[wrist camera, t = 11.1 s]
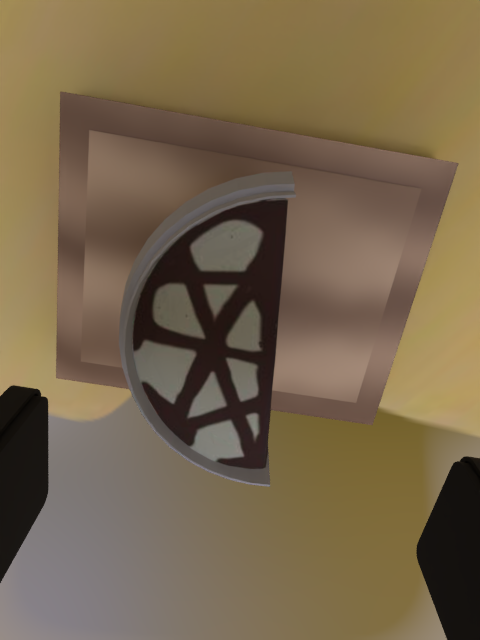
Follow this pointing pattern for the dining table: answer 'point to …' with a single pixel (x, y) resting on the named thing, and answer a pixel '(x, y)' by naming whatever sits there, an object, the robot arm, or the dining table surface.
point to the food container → (210, 324)
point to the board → (299, 254)
